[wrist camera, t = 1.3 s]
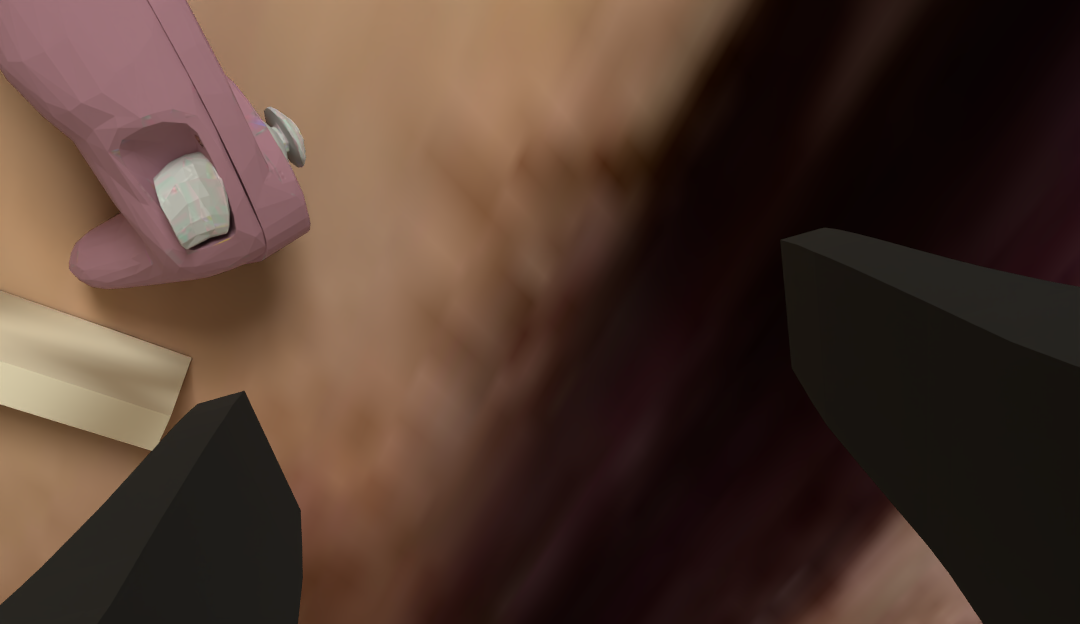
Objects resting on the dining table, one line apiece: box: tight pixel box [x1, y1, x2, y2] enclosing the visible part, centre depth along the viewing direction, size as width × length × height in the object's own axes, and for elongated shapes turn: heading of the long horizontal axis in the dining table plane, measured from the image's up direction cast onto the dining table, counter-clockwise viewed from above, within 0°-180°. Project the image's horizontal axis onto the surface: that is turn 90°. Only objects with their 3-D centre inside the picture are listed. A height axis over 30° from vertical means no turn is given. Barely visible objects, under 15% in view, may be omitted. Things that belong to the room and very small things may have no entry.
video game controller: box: [0, 0, 310, 289], centre depth 15 cm, size 10×5×7 cm, turn 20°
